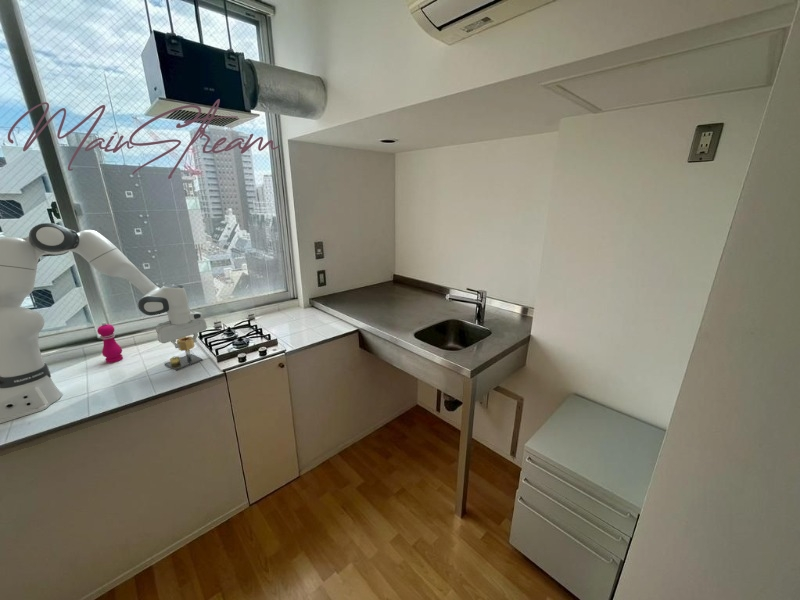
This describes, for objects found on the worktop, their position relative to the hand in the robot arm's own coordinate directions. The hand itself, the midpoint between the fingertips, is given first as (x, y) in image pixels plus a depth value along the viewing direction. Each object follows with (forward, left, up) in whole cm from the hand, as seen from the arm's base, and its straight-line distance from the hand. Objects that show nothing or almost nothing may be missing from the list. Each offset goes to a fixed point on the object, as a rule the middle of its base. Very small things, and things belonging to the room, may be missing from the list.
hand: (186, 344), depth 151 cm
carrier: (-2, 0, -9) cm, 9 cm away
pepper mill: (-18, +33, -9) cm, 39 cm away
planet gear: (0, 0, -2) cm, 2 cm away
